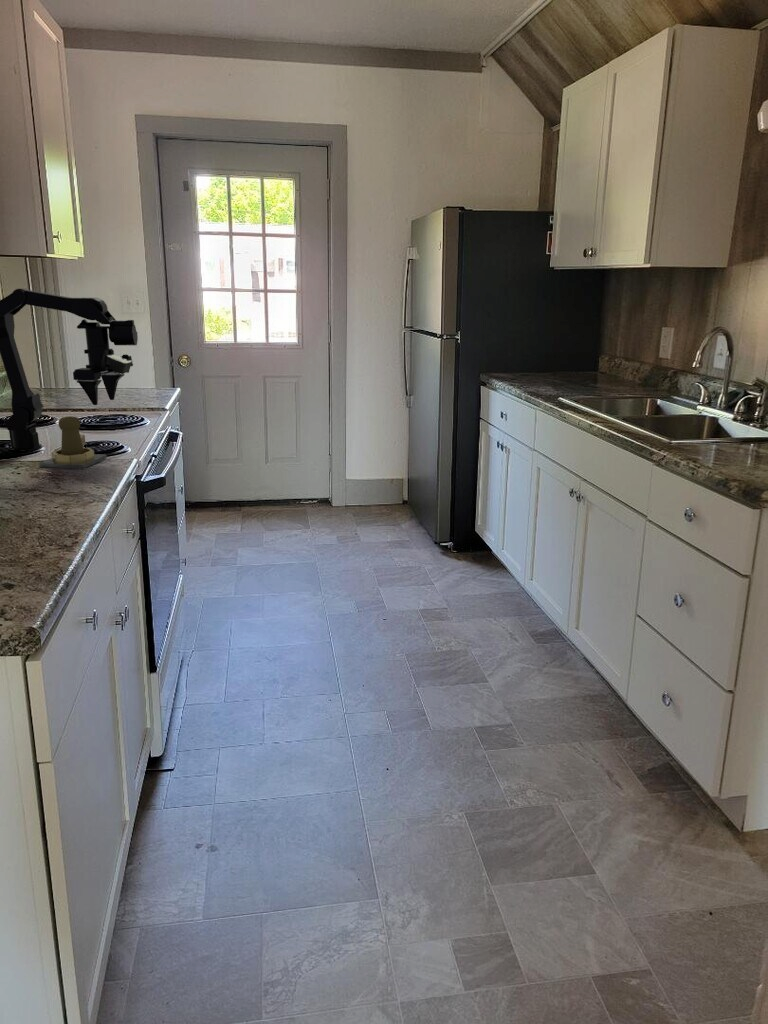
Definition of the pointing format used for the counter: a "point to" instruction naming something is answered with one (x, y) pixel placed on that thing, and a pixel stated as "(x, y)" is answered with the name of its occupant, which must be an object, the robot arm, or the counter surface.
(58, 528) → the counter surface
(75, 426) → the olive brown tapered cylinder
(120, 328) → the robot arm
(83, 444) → the walnut block
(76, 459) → the cup bracket
